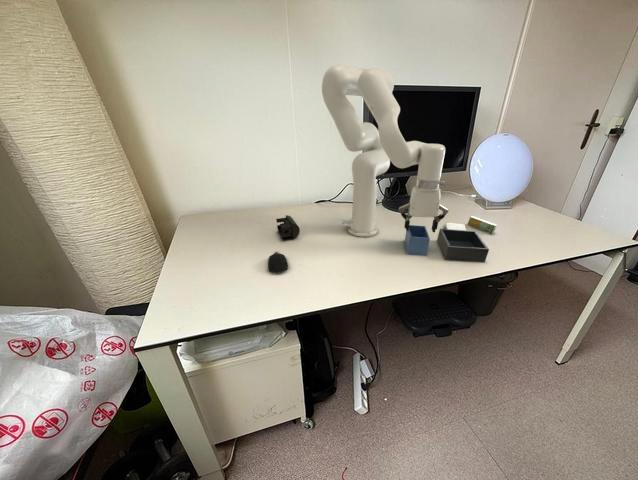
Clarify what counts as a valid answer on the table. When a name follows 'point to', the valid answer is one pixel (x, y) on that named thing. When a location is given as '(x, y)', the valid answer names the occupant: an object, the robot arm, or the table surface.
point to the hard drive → (455, 226)
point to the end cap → (288, 228)
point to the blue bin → (417, 240)
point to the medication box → (482, 225)
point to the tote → (462, 245)
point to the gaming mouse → (277, 263)
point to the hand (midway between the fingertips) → (420, 230)
